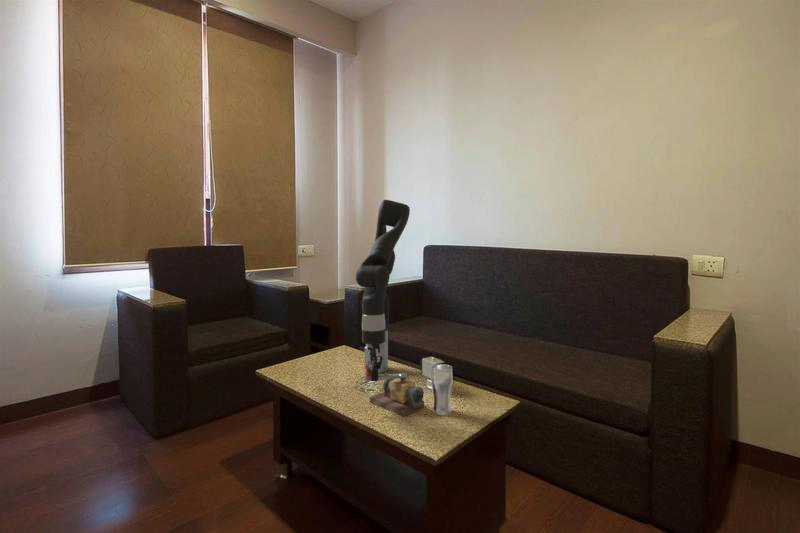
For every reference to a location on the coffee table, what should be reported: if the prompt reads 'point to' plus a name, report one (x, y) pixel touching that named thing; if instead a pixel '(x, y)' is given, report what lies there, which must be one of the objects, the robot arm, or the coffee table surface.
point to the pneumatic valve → (429, 367)
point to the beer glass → (441, 388)
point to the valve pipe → (399, 396)
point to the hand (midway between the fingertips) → (374, 380)
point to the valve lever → (384, 377)
